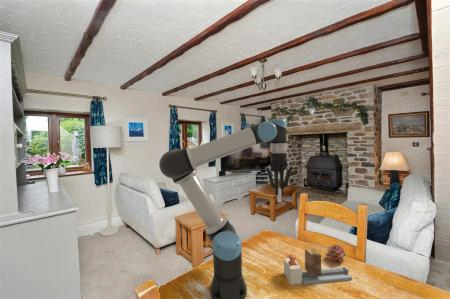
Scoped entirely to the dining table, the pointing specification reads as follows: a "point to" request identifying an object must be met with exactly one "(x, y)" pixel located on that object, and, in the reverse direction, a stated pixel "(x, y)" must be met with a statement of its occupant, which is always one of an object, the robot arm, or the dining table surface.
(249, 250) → the dining table surface
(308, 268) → the carriage
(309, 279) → the rail board
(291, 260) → the plunger
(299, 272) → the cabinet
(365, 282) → the dining table surface
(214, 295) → the robot arm
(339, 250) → the flower
